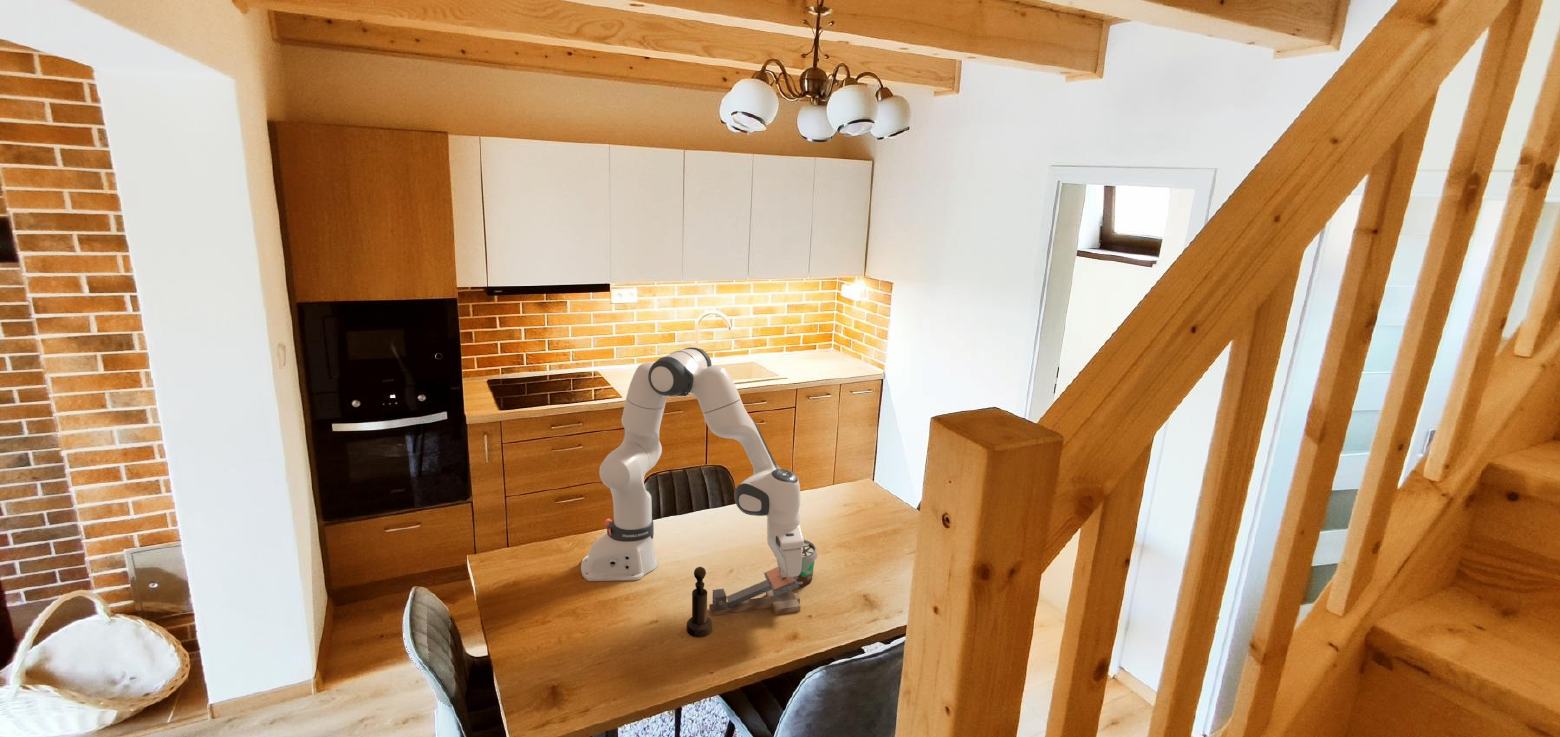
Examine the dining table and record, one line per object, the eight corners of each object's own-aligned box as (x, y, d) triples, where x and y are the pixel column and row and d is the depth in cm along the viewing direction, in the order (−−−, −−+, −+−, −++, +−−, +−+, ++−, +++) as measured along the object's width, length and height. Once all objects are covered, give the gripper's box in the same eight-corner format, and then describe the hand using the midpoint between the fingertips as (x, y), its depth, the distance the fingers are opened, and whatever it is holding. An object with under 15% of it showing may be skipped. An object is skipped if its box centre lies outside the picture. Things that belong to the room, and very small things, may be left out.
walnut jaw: (713, 623, 194) (714, 604, 193) (706, 602, 204) (706, 584, 202) (803, 610, 201) (804, 592, 200) (792, 591, 211) (793, 573, 209)
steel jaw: (733, 614, 195) (731, 608, 195) (725, 594, 205) (723, 588, 204) (802, 585, 199) (800, 579, 199) (791, 566, 208) (789, 561, 208)
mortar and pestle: (699, 619, 196) (700, 558, 191) (717, 629, 192) (718, 567, 187) (681, 630, 191) (681, 568, 186) (699, 641, 187) (699, 577, 182)
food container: (812, 592, 210) (814, 560, 208) (791, 589, 212) (792, 557, 209) (819, 570, 222) (820, 540, 220) (799, 567, 223) (800, 537, 221)
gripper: (762, 513, 207) (761, 558, 211) (783, 547, 189) (782, 595, 192) (783, 511, 209) (782, 555, 213) (806, 544, 190) (805, 592, 194)
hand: (782, 574), depth 202 cm, fingers closed
